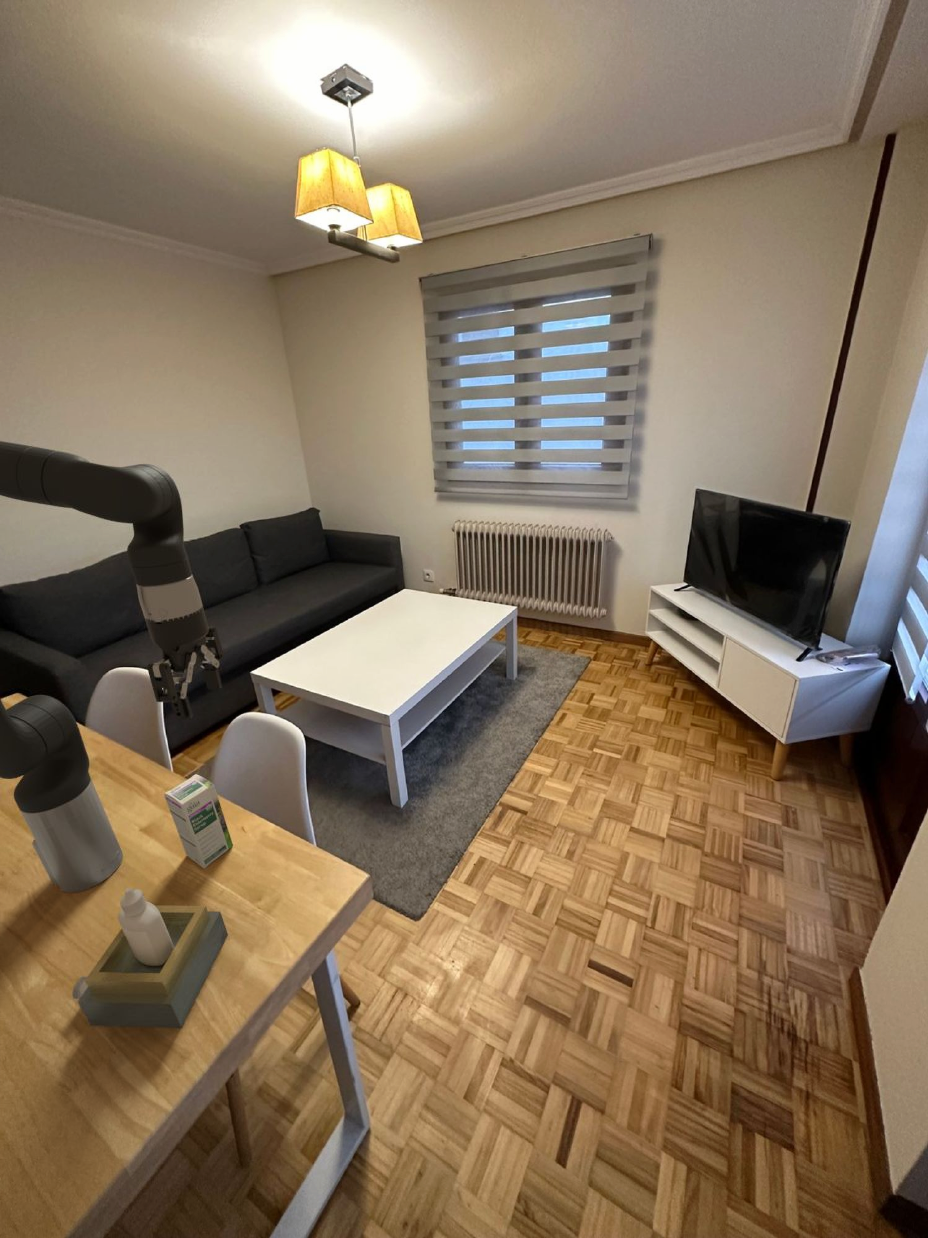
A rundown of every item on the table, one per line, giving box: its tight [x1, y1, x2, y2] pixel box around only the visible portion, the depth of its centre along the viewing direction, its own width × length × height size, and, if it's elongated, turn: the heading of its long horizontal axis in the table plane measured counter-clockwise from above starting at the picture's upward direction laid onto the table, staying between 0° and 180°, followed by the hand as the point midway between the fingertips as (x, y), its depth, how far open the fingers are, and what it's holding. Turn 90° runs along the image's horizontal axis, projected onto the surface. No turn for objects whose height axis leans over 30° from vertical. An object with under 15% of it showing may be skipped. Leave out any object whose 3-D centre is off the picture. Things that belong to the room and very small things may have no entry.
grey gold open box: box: [71, 904, 229, 1029], centre depth 65 cm, size 15×12×8 cm
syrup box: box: [163, 773, 234, 869], centre depth 84 cm, size 6×6×14 cm
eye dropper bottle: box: [117, 887, 174, 966], centre depth 63 cm, size 4×6×12 cm
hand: (201, 702), depth 76 cm, fingers open, 8 cm apart
